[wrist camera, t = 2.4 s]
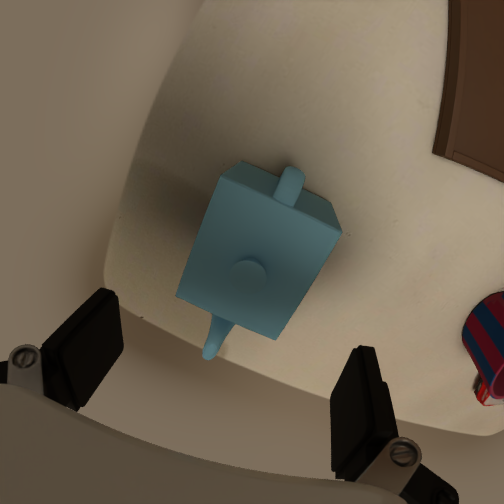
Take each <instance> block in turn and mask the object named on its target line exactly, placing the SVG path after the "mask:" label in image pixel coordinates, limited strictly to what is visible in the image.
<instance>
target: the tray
mask: <svg viewBox="0 0 504 504" xmlns="http://www.w3.org/2000/svg"><path fill="white" fill-rule="evenodd" d="M432 153H433V154H436V155H439V156H441V157H444V158H447V159H449V160H452V161H454V162H457V163H459V164H462V165H464V166H467V167H469V168H472V169H474V170H476V171H479V172H481V173H483V174H485V175H488V176H490V177H492V178H494V179H496V180H499V181H501V182H503V183H504V0H449V26H448V47H447V60H446V71H445V80H444V88H443V96H442V102H441V109H440V115H439V121H438V127H437V132H436V137H435V142H434V147H433V152H432Z"/></svg>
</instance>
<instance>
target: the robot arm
mask: <svg viewBox="0 0 504 504" xmlns="http://www.w3.org/2000/svg"><path fill="white" fill-rule="evenodd" d="M123 348H124V343H123V336H122V328H121V319H120V311H119V300H118V296H116V295H115V292H114V291H112V290H109V289H106V288H100V289H98V290H97V291H96V292H95V293H94V294H93V295H92V296H91V297H90V298H89V299H88V300H86V301H85V302H84V304H82V305H81V306H80V307H79V308H78V309H77V310H76V311H75V312H74V313H73V314H72V315H71V316H70V317H69V318H68V319H67V320H66V321H65V322H64V323H63V324H62V325H61V326H60V327H59V328H58V329H57V330H56V331H55V332H54V333H53V334H52V335H51V336H50V337H49V338H48V339H47V340H46V341H45V342H44V343H43V344H42V347H41V348H40V349H38V348H37V347H35V346H33V345H28V344H27V345H26V344H25V345H21V346H18V347H17V348H15V349H14V350H13V351H12V352H11V353H10V356H9V359H8V361H2V362H0V504H459V496H458V493H457V491H456V489H454V488H453V487H452V486H451V485H450V484H448V483H447V482H446V481H444V480H442V479H441V478H440V477H439V476H437V475H436V474H434V473H433V472H432V471H431V470H429V469H428V468H427V467H425V466H424V465H423V464H421V463H420V462H421V459H422V453H421V450H420V448H419V446H418V445H417V444H416V443H415V442H414V441H413V440H411V439H409V438H405V437H399V435H398V430H397V425H396V420H395V415H394V410H393V406H392V401H391V397H390V393H389V388H388V385H387V383H386V382H383V381H382V377H381V373H380V368H379V364H378V360H377V356H376V352H375V349H374V347H370V346H362V345H359V346H358V348H354V349H353V350H352V352H351V354H350V356H349V358H348V361H347V363H346V365H345V367H344V369H343V371H342V373H341V375H340V377H339V379H338V381H337V383H336V385H335V387H334V389H333V391H332V394H331V397H330V417H331V470H332V471H333V472H335V473H336V476H335V477H336V479H345V481H338V480H328V479H316V478H306V477H297V476H288V475H282V474H274V473H268V472H261V471H256V470H250V469H245V468H240V467H235V466H230V465H226V464H221V463H217V462H213V461H209V460H204V459H201V458H197V457H193V456H190V455H186V454H183V453H180V452H176V451H173V450H170V449H167V448H163V447H160V446H158V445H155V444H152V443H149V442H146V441H143V440H140V439H138V438H135V437H132V436H130V435H127V434H125V433H122V432H120V431H117V430H115V429H112V428H110V427H108V426H105V425H103V424H101V423H99V422H96V421H94V420H92V419H90V418H88V417H86V416H84V415H81V414H79V413H77V411H78V410H79V408H80V407H84V406H85V405H86V403H87V402H88V401H89V398H91V396H92V395H93V393H94V392H95V390H96V389H97V387H98V386H99V384H100V383H101V382H102V380H103V379H104V377H105V376H106V374H107V373H108V371H109V370H110V369H111V367H112V366H113V364H114V363H115V362H116V360H117V359H118V357H119V356H120V354H121V353H122V351H123ZM67 407H68V408H67ZM69 408H70V409H69ZM71 409H72V410H71ZM73 410H74V411H73ZM75 411H76V412H75Z"/></svg>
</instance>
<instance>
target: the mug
mask: <svg viewBox="0 0 504 504" xmlns="http://www.w3.org/2000/svg"><path fill="white" fill-rule="evenodd" d="M462 341H463V344H464V346H465V348H466V349H467V351H468V353H469V355H470V357H471V359H472V360H473V362H474V364H475V366H476V368H477V370H478V372H479V374H480V376H481V378H482V380H483V382H484V384H485V386H486V388H487V390H488V392H489V394H490V396H491V397H492V398H493V399H504V292H501V293H496V294H493V295H491V296H489V297H487V298H486V299H485V300H483V301H482V302H481V303H480V304H479V305H478V306H477V307H476V308H475V309H474V310H473V312H472V313H471V314H470V316H469V317H468V319H467V321H466V323H465V326H464V329H463V334H462Z"/></svg>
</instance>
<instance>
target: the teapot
mask: <svg viewBox="0 0 504 504" xmlns="http://www.w3.org/2000/svg"><path fill="white" fill-rule="evenodd" d="M304 181H305V174H304V173H303V172H302V171H301V170H300V169H298V168H296V167H292V166H288V167H286V168H285V169H284V171H283V173H282V175H281V176H280V178H279V177H277V176H275V175H273V174H270V173H268V172H266V171H264V170H262V169H260V168H257V167H255V166H253V165H251V164H248V163H246V162H244V161H240V162H239V163H237V164H236V165H234V166H233V167H231V168H230V169H229V170H227V171H226V172H224V173H223V174H221V175H220V178H219V180H218V183H217V185H216V188H215V190H214V193H213V195H212V198H211V200H210V203H209V205H208V208H207V210H206V213H205V216H204V218H203V221H202V223H201V226H200V229H199V231H198V234H197V237H196V239H195V242H194V245H193V247H192V250H191V253H190V256H189V258H188V261H187V264H186V267H185V269H184V272H183V275H182V278H181V281H180V284H179V287H178V289H177V292H176V295H175V296H176V297H178V298H181V299H183V300H185V301H187V302H189V303H191V304H193V305H195V306H197V307H199V308H202V309H204V310H206V311H208V312H210V313H212V321H211V327H210V331H209V334H208V338H207V340H206V343H205V345H204V348H203V358H204V359H206V360H211V359H212V358H213V357H214V356H215V355H216V354H217V352H218V351H219V349H220V347H221V345H222V343H223V341H224V339H225V338H226V336H227V335H228V333H229V332H230V330H231V329H232V327H233V326H234V325H235V324H237V325H240V326H242V327H244V328H247V329H249V330H251V331H254V332H256V333H259V334H261V335H264V336H266V337H268V338H271V339H273V340H276V339H277V338H278V336H279V335H280V333H281V332H282V330H283V329H284V327H285V326H286V324H287V323H288V321H289V319H290V318H291V316H292V315H293V313H294V312H295V310H296V309H297V307H298V306H299V304H300V302H301V301H302V299H303V298H304V296H305V294H306V293H307V291H308V290H309V288H310V286H311V285H312V283H313V281H314V280H315V278H316V276H317V275H318V273H319V271H320V270H321V268H322V266H323V265H324V263H325V261H326V260H327V258H328V256H329V255H330V253H331V251H332V249H333V248H334V246H335V244H336V243H337V241H338V239H339V237H340V236H341V234H342V230H341V227H340V224H339V222H338V219H337V217H336V214H335V212H334V209H333V207H332V204H331V202H329V201H327V200H325V199H323V198H321V197H319V196H317V195H315V194H313V193H311V192H308V191H306V190H304V189H302V187H303V184H304Z"/></svg>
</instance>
